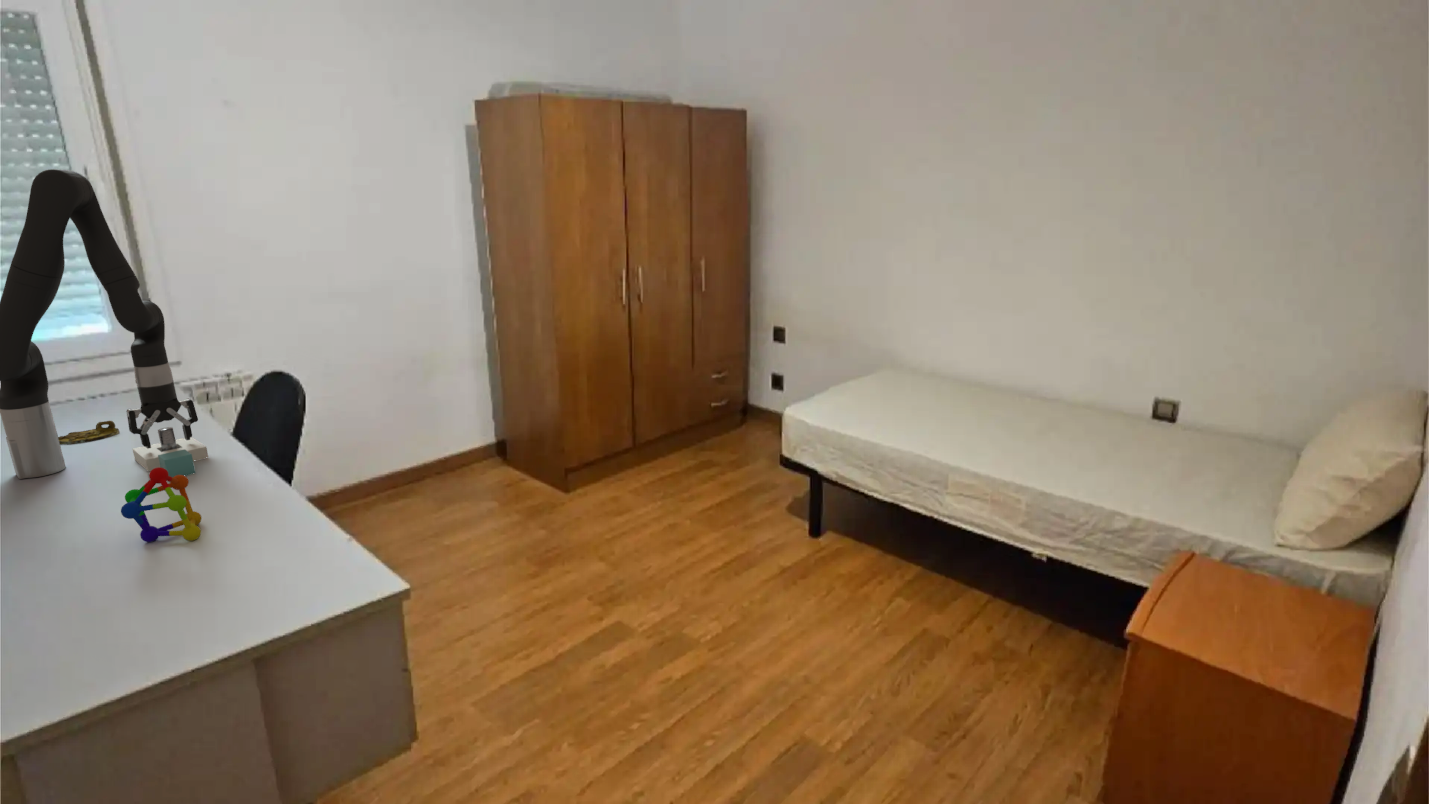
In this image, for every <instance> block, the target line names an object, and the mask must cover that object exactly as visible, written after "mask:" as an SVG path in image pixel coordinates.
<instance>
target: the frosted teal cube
mask: <svg viewBox="0 0 1429 804" xmlns="http://www.w3.org/2000/svg"><path fill="white" fill-rule="evenodd" d="M158 458H159V462H160V467H161V468H164V469H166V470H167V471H168V476H170V477H174V476H176V475H186V476H190V475H194V474H196V469H195V464H194V461H193V459H192V454H191V453H189V452H188V451H186V450H185V449H184V450H179V451H175V452H170V453H166V454H161V455H158ZM193 473H194V474H193Z"/></svg>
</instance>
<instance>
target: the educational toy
mask: <svg viewBox="0 0 1429 804" xmlns="http://www.w3.org/2000/svg"><path fill="white" fill-rule="evenodd" d="M148 478H149V480H148V481H147V482H145V484H143V485H142V486H141V487H140V488H138V489H137V488H134V489H130V490H129V491H127V492H126V493H125V496H124V500H125V502H126V503H124V504H123V506H122V507H121V509H120V514H121V515H122V516H123V518H126V519H128V520H129V519H131V520H132V519H134V522H135V523H137V525H138V526H139V527H140V528H141V531H140V533H139V536H140V539H141V540H142V541H144V542H145V543H146V542H147V543H151V542H155V541H157V539H159V537H176V536H177V537H179V536H180V537H181V536H182V537H183V539H185V540H186V541H189V542H191V541H195V540H198V538H200V537H201V533H202V532H201V531H202V529H201V528H200V527H199V526H198V525H200V524H201V522H202V518H203V517H202V515H201V514H200V512H198V511H194V510H193V507H192V504H191V502H190V498H189V497H188V492H187V490H186V489H187V487H188V486H189V478H188V477H187V475H186V476H184V475H176V476H174V477H170V476H168V471H167V470H166V469H164V468H161V467H158V468H154V469H153V470H151V471H149V474H148ZM168 482H169V483H168ZM156 484H160V486H156ZM155 486H156V487H155ZM173 489H174V490H175V491H179V494H175V493H174V490H173ZM163 491H165V493H166V494H167V496H168V499H167V501H163V502H158V503H151V504H146V505H142V503H143V502H144V500H145V499H146V497H147V496H151V495H153V494H157V493H160V492H163ZM166 508H168V509H169V510H170V511H173V512H177V513H178V516H179V517H180V520H178V521H176V522H173V523H172V522H171V523H170V524H166V525H164V526H160V527H156V526H154V525H151V524H150V522H149V519H148V517H147V515H146V513H145V512H146V511H151V510H157V509H158V510H159V509H166ZM184 509H185V510H184ZM181 526H184V528H183V529H182V530H172V529H175V528H179V527H181Z"/></svg>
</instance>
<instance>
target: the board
mask: <svg viewBox="0 0 1429 804" xmlns="http://www.w3.org/2000/svg"><path fill="white" fill-rule="evenodd" d="M175 440H176V445H177V449H173V450H168V451H163V452H162V447H161V443H160V442H157V443H154V444H151V448H148V449H147V448H146V447H144V446H143V445H142V446H139V447H134V448H132V453H133V458H134V460H135V462H137V463H138V464H139V465H140V466H142V467H143V469H145V470H146V471H147V472H149V473H150V472H151V470H153V469H154V468H158V467H160V462H159V458H158V455H161V454H166V453H170V452H175V451H179V450H184V449H185V450H186V451H188V452H189V453H191V454H192V459H193V462H195V461H194V460H196V461H200V459H201V460H204V458H205V459H207V458H206V457H209V453H208V447H207V446H206V445H205V444H204V443H202V442H200V441H199V440H197V439H195V438H194V437H193V436H192V437H190V440H186V439H185V437H183V438H177V439H176V438H175Z"/></svg>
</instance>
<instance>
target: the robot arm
mask: <svg viewBox="0 0 1429 804" xmlns="http://www.w3.org/2000/svg"><path fill="white" fill-rule="evenodd" d="M31 183H32V184H31V186H30V192H29V197H28V203H27V210H26V211H27V212H26V216H25V221H24V225H23V228H22V230H21V233H20V236H19V240H18V243H17V245H16V249H15V251H14V254H13V257H12V261H11V262H10V265H9V269H8V272H7V275H6V280H5V284H4V288H3V290H2V293H1V297H0V418H1V421H2V424H3V427H4V428H3V429H4V432H5V433H4V434H5V440H6V443H7V447H8V451H9V454H10V458H11V462H12V465H13V469H14V473H15V475H16V476H17V478H18V479H19V480H24V479H31V478H38V477H45V476H49V475H53V474H56V473H58V472H62V471H63V470H65V469H66V462H65V458H64V455H63V451H62V447H61V446H62V445H60V442H59V438H58V437H59V436H58V431H57V428H56V425H55V424H56V423H55V419H54V417H53V411H52V408H51V404H50V400H49V396H48V395H49V394H48V393H49V380H48V375H47V371H46V365H45V361H44V357H43V354H42V353H41V350H40V348H39V347H38V345H36V343H35V342H34V341H32V338H33V336H34V333H35V330H36V327H37V326H38V324H39V322H40V321H41V320H42V318H43V316H44V315H45V314H46V312H47V310H49V308H50V306H51V304H52V303H53V301H54V300H55V297H56V295H57V293H58V290H59V289H60V286H61V282H62V279H63V276H64V271H65V265H66V264H65V263H66V262H65V251H64V236H65V231H66V229H67V226H68V223H69V220H70V221H72V223H73V224H74V226H75V228H76V229H77V231H78V233H79V235H80V237H81V241H82V243H83V245H84V250H85V253H86V254H85V255H86V257H87V261H88V263H89V265H90V267H91V269H92V270H93V272H94V274H95V276H96V278H97V279H98V281H99V282H100V284H101V285H102V288H103V289H104V290H105V292H106V293H107V297H108V301H109V303H110V306H111V309H112V312H113V315H114V317H115V319H116V320H117V322H118V323H119V325H120V326H121V327H122V328H123V329H125V330H126V331H128V332H130V333H133V335H134V336H133V337H134V339H133V342H132V344H131V345H130V354H131V359H132V363H133V369H134V378H135V384H136V386H137V391H138V396H139V400H140V408H136V409H132V408H128V409H126V416H127V417H126V418H127V424H128V431H129V432H130V433H131V434H133V435H139V437H140V438H139V439H140V441H141V444H142V447H143V446H144V447H146V448H147V449H148V448H151V445H152V444H151V440H150V436H149V434H148V432H149V430H150V429H151V427H152V426H153V425H154V423H157V424H158V423H162V422H167V421H169V422H170V421H172V420H173V419H174V418H175V419H176V420H177V421H179V422H180V423H182V431H183V436H184V437H183V438H185V439H186V440H190V437H193V433H192V427H191V425H192V424H194V423H197V422H198V420H199V418H198V413H197V411H196V407H195V403H194V401H193V400H192V399H191V398H186V399H185V400H180V401H179V400H178V397H177V391H176V386H175V382H174V376H173V373H172V369H171V367H170V364H169V360H168V359H169V358H168V355H167V350H166V346H165V337H166V335H165V334H166V329H165V328H166V327H165V325H166V324H165V317H164V314H163V312H162V309H161V308H160V307H159V305H158V304H156V303H155V302H153V301H151V300H143V299H142V298H141V296H140V293H139V288H140V287H141V285H140V281H139V278H138V276H137V275H136V273H135V272H134V270H133V269H132V267H131V265H130V263H129V261H128V260H127V259H126V257H125V255H124V253H123V252H122V250H121V248H120V247H119V245H118V243H117V241H116V240H115V238H114V234H113V233H112V230H111V229H110V226H109V225H108V222H107V220H106V217H105V215H104V213H103V211H102V208H101V206H100V203H99V200H98V197H97V195H96V192H95V190H94V187H93V185H92V184H91V182H90V180H88V178H87V177H86V176H84V175H83V174H81V173H79V172H77V171H74V170H70V169H59V168H48V169H45V170H42V171H40V172H39V173H37V175H36V176H35V177H34V179H33V180H32V182H31ZM181 406H182V407H183V408H185V409H186V410H187V413H188V416H189V417H188V418H185V417H184V416H182V415H181V414H180V413H179V410H180V408H181ZM140 414H142V415H144V416H145V417H144V419H143V421H142V423H141V426H140V427H138V423H137V419H138V418H139V416H140Z"/></svg>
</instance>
